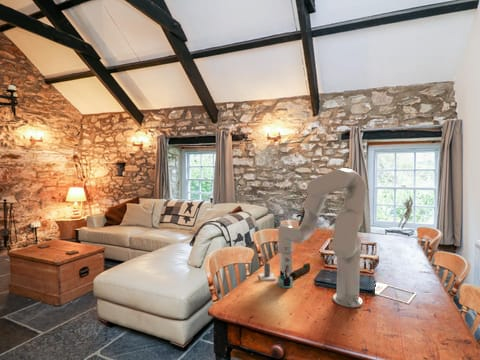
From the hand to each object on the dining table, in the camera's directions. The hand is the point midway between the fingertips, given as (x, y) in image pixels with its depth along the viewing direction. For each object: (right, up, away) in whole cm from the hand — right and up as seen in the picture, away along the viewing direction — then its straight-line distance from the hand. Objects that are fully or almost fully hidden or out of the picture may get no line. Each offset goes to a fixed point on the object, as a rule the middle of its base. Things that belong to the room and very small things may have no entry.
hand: (284, 281), depth 146 cm
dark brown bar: (+11, -1, +16) cm, 19 cm away
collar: (0, -2, 0) cm, 2 cm away
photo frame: (+50, -3, -8) cm, 51 cm away
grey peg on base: (-8, -1, +10) cm, 13 cm away
